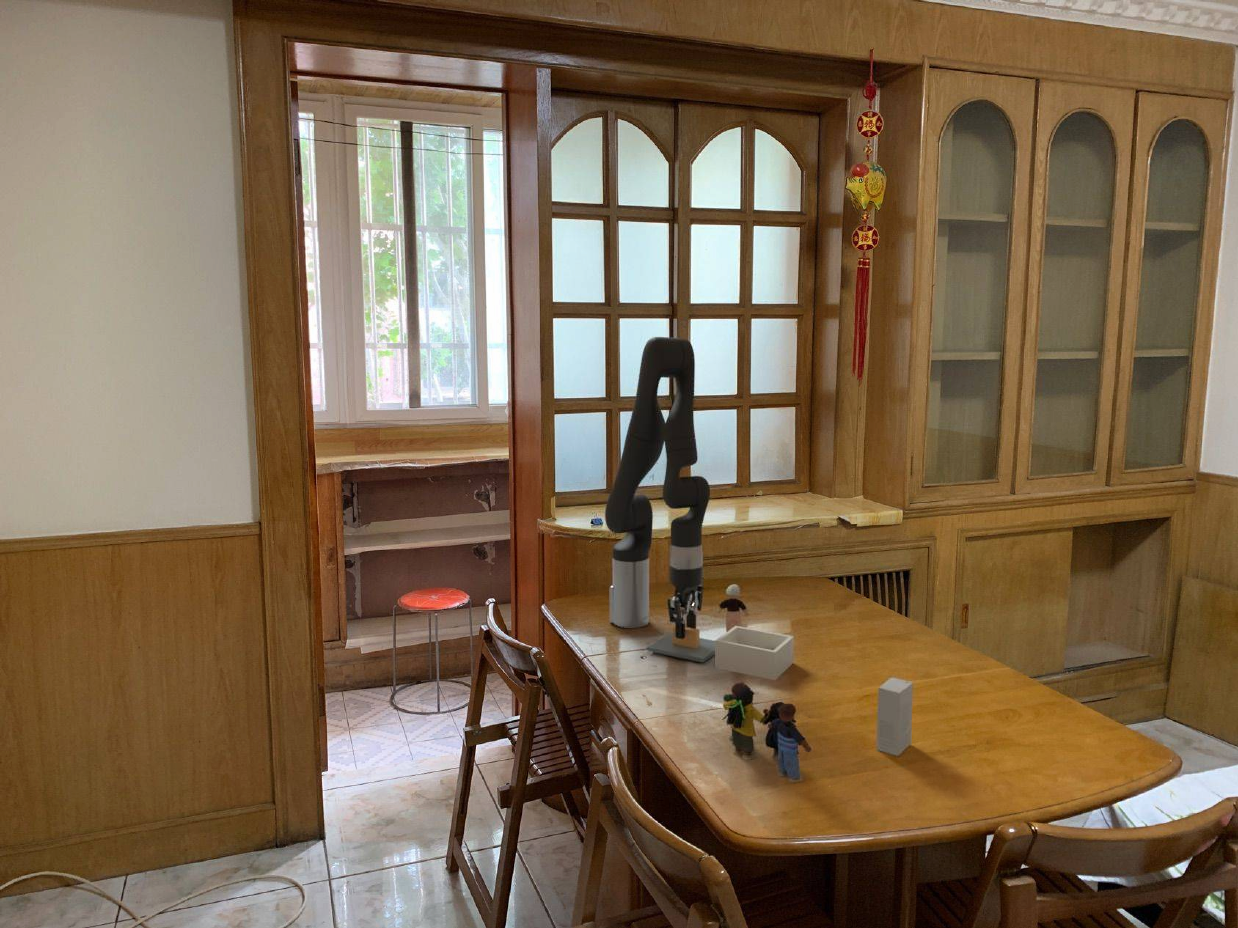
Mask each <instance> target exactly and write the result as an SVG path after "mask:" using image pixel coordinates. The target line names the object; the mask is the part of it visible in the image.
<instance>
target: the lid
mask: <svg viewBox="0 0 1238 928" xmlns="http://www.w3.org/2000/svg"><path fill="white" fill-rule="evenodd" d="M646 651H653V652H654V653H655V654H660V655H664V656H669V657H673V658H678V659H682V660H687V661H692V662H697V663H704V662H706V661H707V660H708V659H710V658H711V657H713V656H715V640H713V639H707V638H702V637H700V629H698V628H696V629H694V628H689V627H686V626H685V638H684V639H678V638H676V637H675V625H674V626H673V627H672V631H669V632H668V633H666V634H665V635H663V636H662V637H660V638H658V639H657V640H656V641H653V642H652V643H651V644H649V645H648V646H646Z"/></svg>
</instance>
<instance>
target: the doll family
mask: <svg viewBox="0 0 1238 928" xmlns="http://www.w3.org/2000/svg"><path fill="white" fill-rule="evenodd" d="M755 695H756V694H755V692H754V691H753V690H752V689H751V688H750V687H749V685H747V684H746V683H745V682H736V683H734V684H733V686H732V687H731V693H728V694H727V693H726V694H724V695H723V700H724V702H723V704H722V707H723V709H724V710H725V711H728V712H727V714H726V715H725V716H724V717H722V719H721V720H722V721H723V720H725V719H726V726H728V725H730V728H731V735H730V736H729V737H728V740H729V741H731V742H732V746H733V747H735V748H734V750H733V751H732V754H733V755H734V756H741V755H742V759H743V760H745V761H748V760H752V759H754V758H757V755H756V753H755V748H754V743H755V741H754V738H756V737H757V734H756V730H755V724H754V720H755V721H756V722H758V723H759V724H762V726H766V725H767V728H768V731H767V733H766V735H765V740H764V741H765V742H764V743H765V745H766V747H767V748H771V749H773V753H772V756H771V758H772V759H773V760H777V765H778V773H777V775H778V776H780V778H781V777H783V778H784V777H787V781H788V782H789V783H793V784H794V783H799V782H802V781H803V780H804V778H803V777H804V776H803V775H801V773H800V772H801V771H800V760H799V754H800V751H799V746H802V748H803V749H804V750H805V752H806V753H811V751H812V747H811V746H810V745H809V743H808V741H807V740H806V737H804V735H803V734H802V733H801V732H800V730H798V729H797V725H796V723H797V720H796V719H800V718H801V717H800V716H795V714H796V712H797V708H796V707H795V705H794V704H793V703H785V702H783V701H777V702H773V703H772V704H771V705H770V707H769V709H768V708H764V709H763V710H762V712H760V711H759V709H757V708H756V707H754V706H753V705H754V696H755Z"/></svg>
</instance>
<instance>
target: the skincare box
mask: <svg viewBox="0 0 1238 928" xmlns="http://www.w3.org/2000/svg"><path fill="white" fill-rule="evenodd" d="M913 693H914V683H913V682H912V681H907V680H904V679H900V678H896V677H890V678H889V679H887V680H886V681H885V682H884V683H883V684H882V685H880V686H879V687H878V695H877V697H878V699H877V720H876V721H877V725H876V726H877V728H876V750H877V751H879V752H883V753H887V754H890V755H893V756H897V757H899V756H900V755H901V754H902V753H903V752H904V751H905V750H906V749H907V748H908V747H909V746H910V745H911V744H912V725H913V724H912V723H913V700H914V698H913V697H914V695H913Z"/></svg>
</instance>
